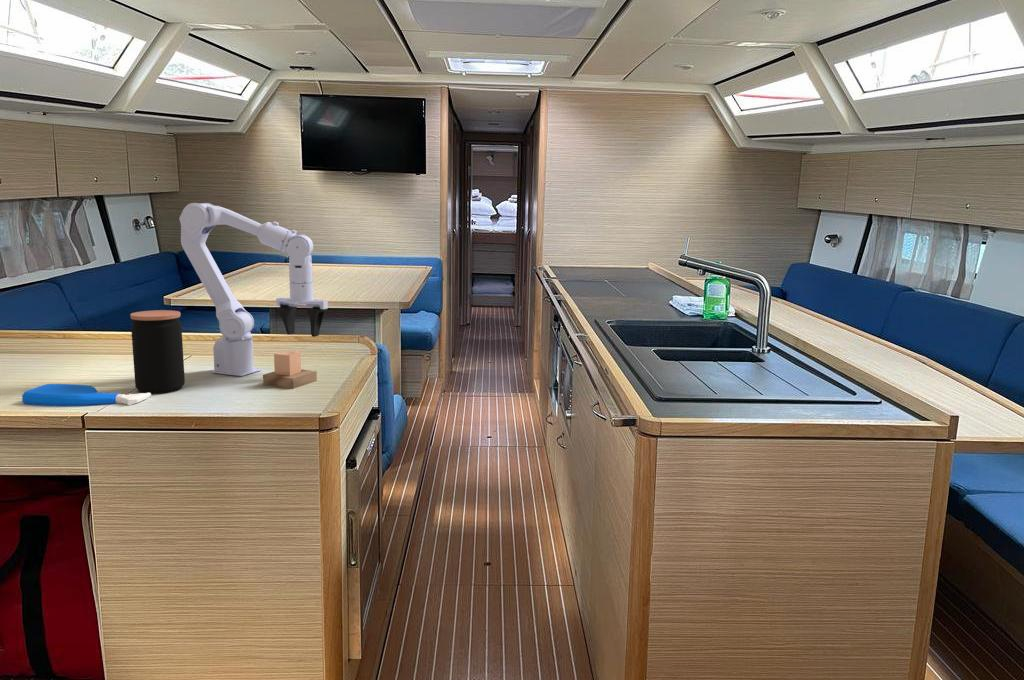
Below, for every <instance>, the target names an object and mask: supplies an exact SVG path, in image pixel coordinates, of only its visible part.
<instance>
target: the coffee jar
mask: <svg viewBox="0 0 1024 680" xmlns="http://www.w3.org/2000/svg"><path fill="white" fill-rule="evenodd" d="M129 317H130V319H131V320H132V323H131V324H130V329H131V330H130V331H131V344H132V345H131V346H132V358H133V359H132V361H133V374H134V385H135V390H137V391H138V392H139V393H151V395H159V394H168V393H173V392H178V391H180V390H181V389H182V390H183V387H184V385H185V383H186V381H185V380H186V379H185V378H186V377H185V362H184V348H183V345H184V344H183V329H182V322H181V320H180V317H181V311H178V310H173V309H172V310H170V309H169V310H168V309H167V310H166V309H160V310H159V309H157V310H155V309H153V310H144V311H143V310H142V311H135V312H131V313H130V315H129Z"/></svg>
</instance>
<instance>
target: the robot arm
mask: <svg viewBox="0 0 1024 680" xmlns="http://www.w3.org/2000/svg"><path fill="white" fill-rule="evenodd" d="M178 219H179V223H180V244H181V247H182V249H183V250H184V253H185V254H186V256H187V258H188V260H189V261H190V263H191V265H192V267H193V269H194V271H195V272H196V274H197V276H198V278H199V280H200V282H201V283H202V285H203V287H204V289H205V290H206V293H207V294H208V296H209V298H210V299H211V301H212V303H213V305H214V306H215V316H216V319H217V321H218V323H219V332H220V334H221V335H222V337H219V338H217V339H216V340H215V342H214V344H213V349H212V350H213V353H212V354H213V367H214V368H213V369H214V370H212V371H211V373H212V374H220V375H229V376H236V377H237V376H238V377H243V376H247V375H249V374H254V373H257V372H261V371H262V368H259V367H255V366H254V347H253V346H254V344H253V335H252V333H251V332H252V330H253V329H254V327H255V320H254V317H253V315H252V314H251V313H250V312H248V311H247V310H246V309H245V308H244V306H243V305H242V303H241V302H239V301H238V300H237V299H236V297H235V296H234V294H233V292H232V290H231V288H230V287H229V285H228V283H227V281H226V279H225V278H224V276H223V274H222V272H221V270H220V268H219V267H218V264H217V263H216V261H215V259H214V257H213V256H212V254H211V251H210V250H209V248H208V247H207V244H206V242H207V239H208V237H209V234H210V232H211V231H212V230H213V229H214V228H215V227H217V226H218V225H219V226H220V225H226V226H229V227H232V228H235V229H238V230H240V231H242V232H243V231H244V232H246V233H248V234H251V235H254V236H256V237H257V238H258V241H259V243H260V244H262V245H265V246H267V247H270V248H273V249H274V250H277V251H279V252H283V253H285V252H286V253H287V255H288V258H289V259H288V262H289V264H288V270H289V271H288V273H289V297H278V298H276V299H275V301H276V306H277V307H276V312H277V313H278V314H279V316H280V318H281V319H282V323H283V324H284V327H285V331H286V334H287V335H293V334H295V330H296V323H295V319H296V313H297V308H298V307H299V308H307V314H308V319H309V323H310V335H311V337H313V338H315V337H318V336H320V331H321V327H322V326H321V325H322V323H323V320H324V318H325V317H326V314H327V312H328V308H329V302H328V300H322V299H314V286H313V285H314V284H313V282H314V281H313V264H312V263H313V262H312V260H313V259H312V253H313V250H314V242H313V240H312V239H311V238H310V237H309V236H307V235H306V234H305V233H300V234H299V233H298V231H297V230H295V229H292V230H290V229H288V228H285V227H283V226H280V223H279V222H277V221H273V222H270V221H267V222H264V223H260V222H258V221H255V220H254V219H251V218H249V217H246V216H244V215H243V214H239V213H237V212H236V211H233V210H231V209H229V208H225V207H224V206H223V207H222V206H220V205H214V204H212V203H210V202H203V203H200V202H199V203H198V202H191V203H188V204H187V205H186V206H184V208H183V209H182V211H181V213H180V215H179V218H178ZM297 233H298V234H297ZM309 308H310V309H309Z"/></svg>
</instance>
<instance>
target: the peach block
mask: <svg viewBox="0 0 1024 680" xmlns="http://www.w3.org/2000/svg"><path fill="white" fill-rule="evenodd" d="M273 356H274V357H273V359H274V361H273V362H274V363H273V364H274V371H275V374H278V375H287V376H291V375H294V374H297V373H300V372H301V369H302V365H301V362H302V361H301V360H302V359H301V351H293V350H291V351H290V350H283V351H279V352H276V353H273Z"/></svg>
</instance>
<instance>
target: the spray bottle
mask: <svg viewBox="0 0 1024 680" xmlns="http://www.w3.org/2000/svg"><path fill="white" fill-rule="evenodd" d="M151 396H152V394H151V393H141V392H139V393H127V394H124V393H123V394H121V393H120V392H112V393H110V392H101V391H100V392H99V391H98V390H97V389H96V387H94V386H92V385H87V384H74V383H73V384H71V383H70V384H69V383H68V384H67V383H47V384H43V385H41V386H37V387H33V388H31V389H29V390H26V391H24V392H23V393H22V395H21V398H22V400H21V401H22V403H23V404H24V405H31V406H35V405H36V406H47V407H48V406H49V407H50V406H55V407H59V406H60V407H77V406H78V407H81V406H82V407H83V406H97V405H115V404H122V403H123V404H124V405H127V406H131V405H134V404H137V403H140V402H143V401H145V400H147V399H149V398H150V397H151ZM114 403H115V404H114Z"/></svg>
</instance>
